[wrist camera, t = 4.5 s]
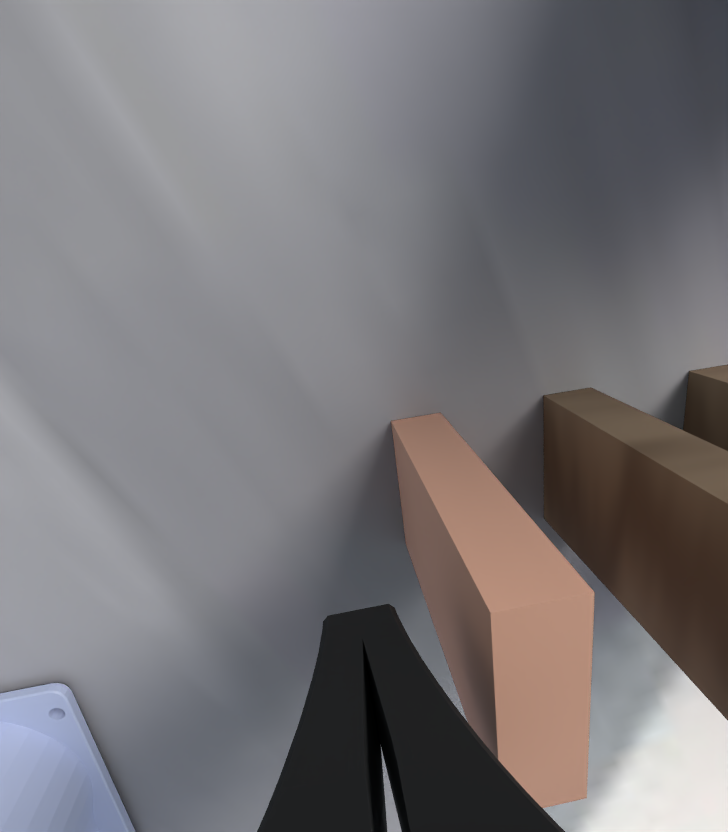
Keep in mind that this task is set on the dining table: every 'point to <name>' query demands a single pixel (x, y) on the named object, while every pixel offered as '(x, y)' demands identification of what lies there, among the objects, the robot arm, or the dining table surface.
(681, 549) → the domino
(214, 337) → the dining table surface
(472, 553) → the domino
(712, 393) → the domino
